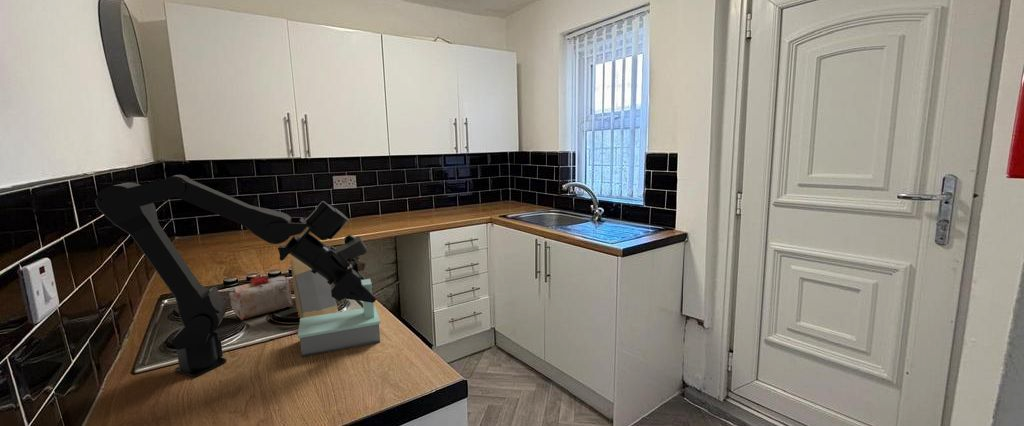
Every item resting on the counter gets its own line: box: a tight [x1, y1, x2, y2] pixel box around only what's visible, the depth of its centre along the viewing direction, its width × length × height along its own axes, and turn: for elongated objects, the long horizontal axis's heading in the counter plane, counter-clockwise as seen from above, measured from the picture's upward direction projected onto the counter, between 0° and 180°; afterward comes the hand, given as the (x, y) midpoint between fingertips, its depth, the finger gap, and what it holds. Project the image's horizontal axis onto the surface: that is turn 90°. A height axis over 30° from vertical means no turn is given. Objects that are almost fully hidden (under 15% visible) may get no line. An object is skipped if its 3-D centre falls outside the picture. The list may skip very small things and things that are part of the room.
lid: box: [297, 278, 381, 339], centre depth 96 cm, size 17×10×10 cm, turn 113°
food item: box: [228, 274, 294, 321], centre depth 114 cm, size 14×8×10 cm, turn 132°
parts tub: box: [299, 324, 381, 358], centre depth 97 cm, size 16×9×4 cm, turn 113°
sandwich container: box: [290, 257, 339, 318], centre depth 109 cm, size 9×15×15 cm, turn 34°
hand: (373, 295), depth 98 cm, fingers open, 7 cm apart
